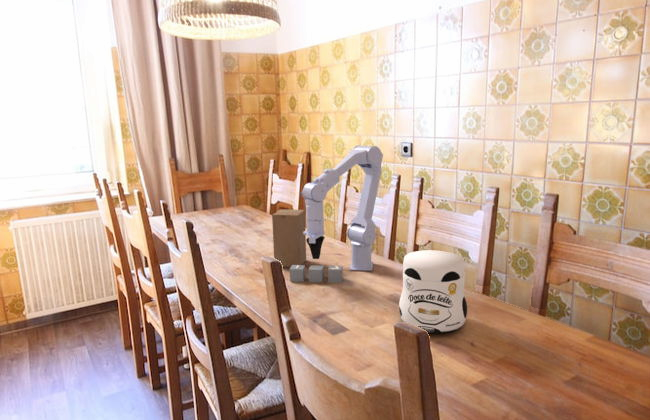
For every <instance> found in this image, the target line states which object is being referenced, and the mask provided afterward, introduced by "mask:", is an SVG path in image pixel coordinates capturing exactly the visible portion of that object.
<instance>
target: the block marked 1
mask: <svg viewBox="0 0 650 420" xmlns="http://www.w3.org/2000/svg"><path fill="white" fill-rule="evenodd" d="M305 279H306V265H305V264H303V265H292V266H291V267H289V281H294V282H293V283H297V282H298V283H303V282H304V281H305Z"/></svg>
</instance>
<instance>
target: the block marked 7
mask: <svg viewBox="0 0 650 420" xmlns="http://www.w3.org/2000/svg"><path fill="white" fill-rule="evenodd" d="M343 271H344V269H343V265H329V266H328V270H327V282H328V283H329V284H330V283H332V284H337V283H338V284H342V282H343V278H344V275H343V274H344V272H343Z"/></svg>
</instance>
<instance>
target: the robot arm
mask: <svg viewBox="0 0 650 420" xmlns="http://www.w3.org/2000/svg"><path fill="white" fill-rule="evenodd" d="M383 157H384V154H383V152H382V150H381V148H379V147H378V146H376V145H372V146H371V145H369V146H367V145H361V144H360V145H359V144H358V145H354V147H353V148H352V149H350V150H349V152H348V154H347V155H346V156H345V157H344V158H342V160H341V161H340V162H339V163H338V164H336V166H334V168H333V169H332V168H325V169H323V170H322V173H321V174H320V175H318V176H317V177H315V178H314V179H313V181H312V182H307V183H306V184H305V185H304V186H303V188H302V191H301V196H302V198H303V199H304V204H305V225H306V230H305V231H304V232H303V234H304V235H306V236H307V238H306V244H307V245H308V247H309V250H310V252H311V253H310V254H311V257H312V260H320V257H321V252H322V246H323V243H324V240H325V236H324V235H325V224H324V222H325V220H324V200H325V199H326V198H327V195H328V194H327V193H328V192H329V191H330V190H331V189H332V188H334V187H335V186H336V185H338V184H339V182H340V178H341V176H343V175H344V174H345V173H347V172H349V170H350V169H352V168H353V167H354V166H356V165H357V166H359V167H360V168H361V169H362V170H363V172H364V179H363V183H362V184H363V185H362V188H361V189H362V190H361V193H360V199H359V203H358V209H357V211H356V216H355V217H353V218H352V219H351V221H350V224H349V226H348V227H347V230H346V236H347V238H348V240H349V242H350V244H351V263H350V266H349V267H350V268H349V270H350V271H367V272H368V271H373V264H374V262H373V261H372V246H373V244H374V242H375V241H376V238H377V237H376V236H377V233H376V228H377V227H376V226H377V225H376V224H375V222H374V221H373V214H374V209H375V204H376V199H377V196H378V191H379V190H378V189H379V185H380V180H381V176H382V175H381V174H382V162H383Z"/></svg>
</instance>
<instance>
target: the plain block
mask: <svg viewBox="0 0 650 420" xmlns="http://www.w3.org/2000/svg"><path fill="white" fill-rule="evenodd" d="M324 266H325V265H314V264H313V265H310V266H309V267H308V282H309V283H323V282H324V279H325V274H324V272H325V270H324V269H325V268H324Z"/></svg>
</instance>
